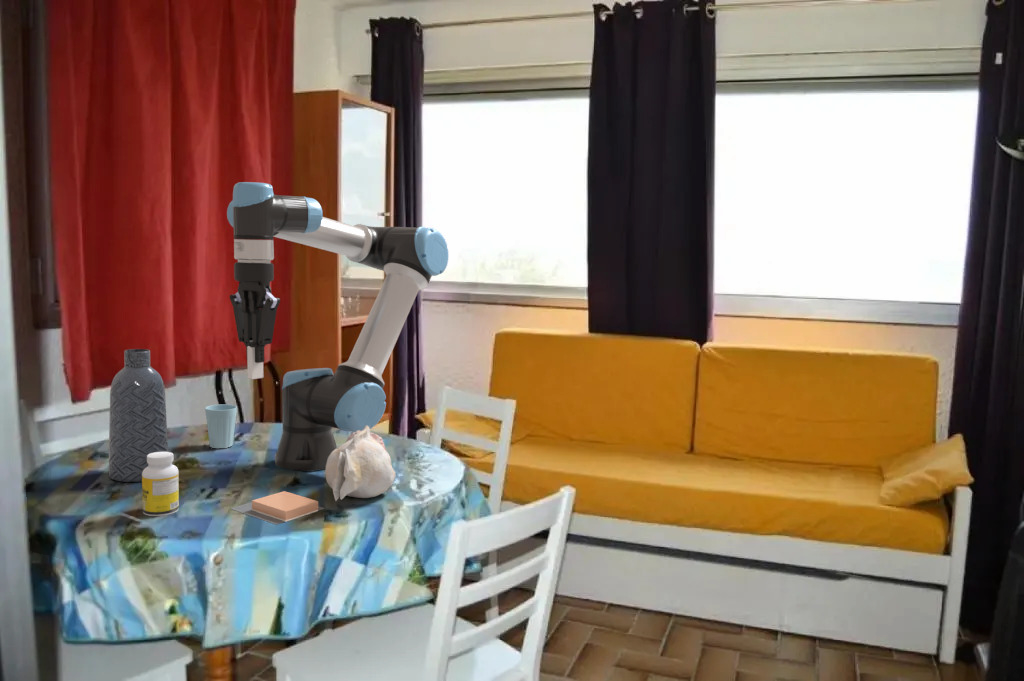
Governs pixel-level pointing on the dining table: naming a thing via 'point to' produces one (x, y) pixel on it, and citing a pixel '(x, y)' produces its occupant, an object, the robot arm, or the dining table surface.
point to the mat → (248, 510)
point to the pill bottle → (160, 485)
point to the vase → (136, 417)
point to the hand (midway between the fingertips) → (255, 377)
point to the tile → (285, 506)
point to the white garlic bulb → (360, 467)
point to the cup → (221, 424)
